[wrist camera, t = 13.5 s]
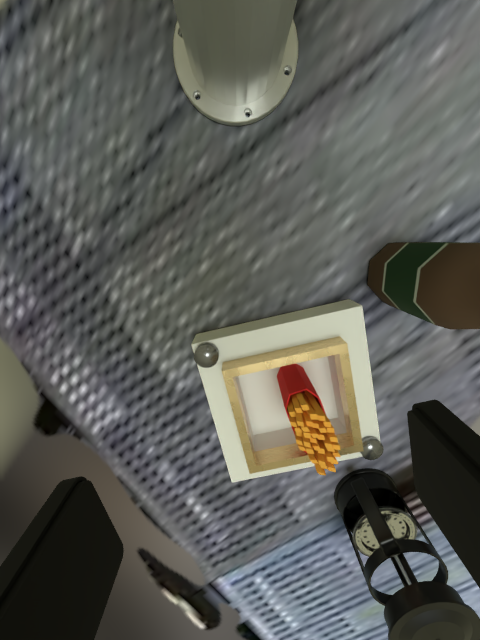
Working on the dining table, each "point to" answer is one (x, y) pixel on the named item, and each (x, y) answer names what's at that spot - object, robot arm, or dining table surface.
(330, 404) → the gold-rimmed square tray
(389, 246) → the beer bottle
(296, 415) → the french fries
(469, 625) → the french press
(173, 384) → the dining table surface
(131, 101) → the dining table surface
